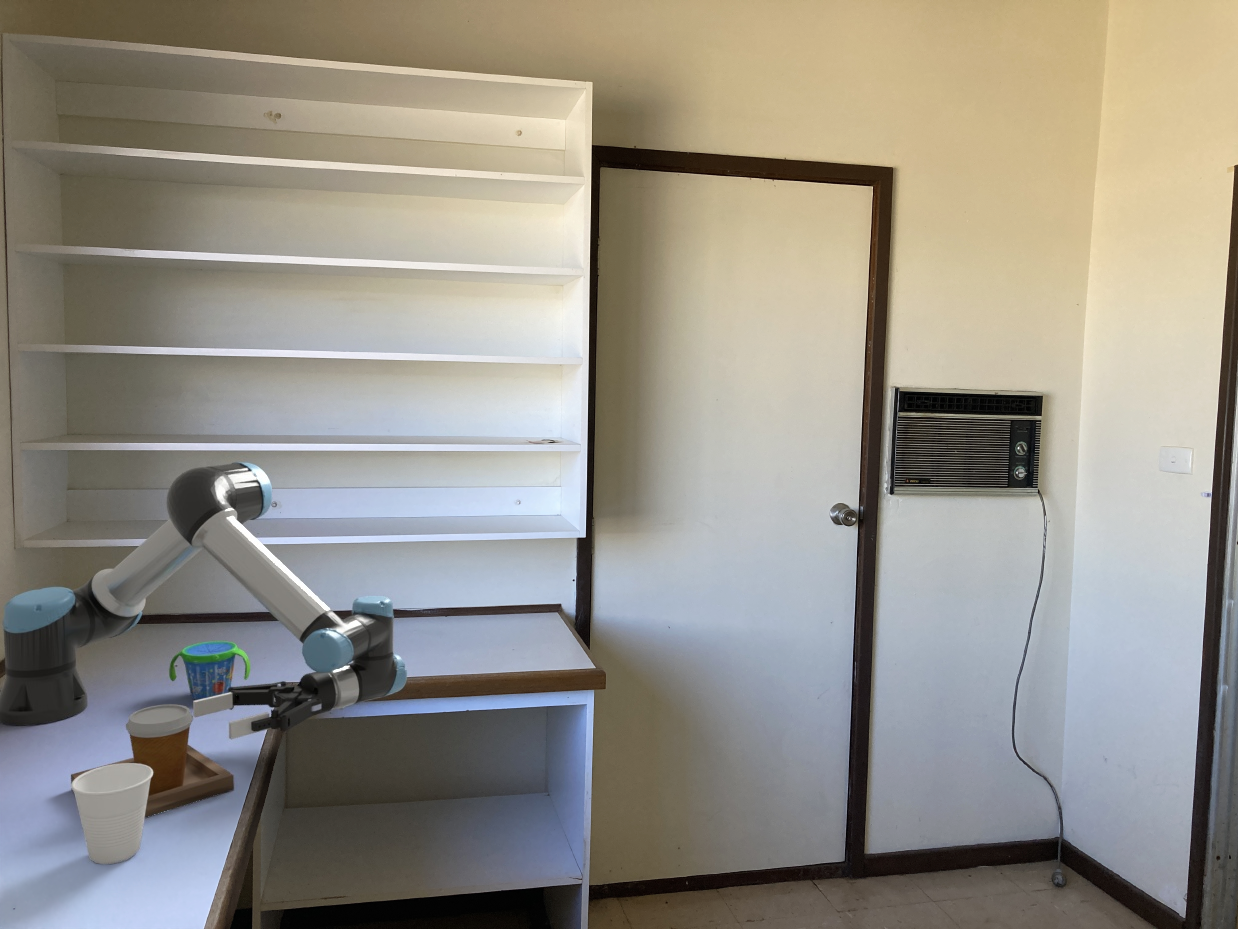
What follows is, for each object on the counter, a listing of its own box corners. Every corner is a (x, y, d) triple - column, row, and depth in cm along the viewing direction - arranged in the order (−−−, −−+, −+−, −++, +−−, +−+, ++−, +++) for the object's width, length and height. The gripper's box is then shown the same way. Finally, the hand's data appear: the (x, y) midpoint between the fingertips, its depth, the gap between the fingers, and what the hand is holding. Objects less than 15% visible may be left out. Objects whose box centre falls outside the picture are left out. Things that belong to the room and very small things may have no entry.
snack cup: (160, 703, 186) (159, 654, 185) (185, 686, 196) (184, 639, 195) (237, 705, 186) (236, 656, 185) (258, 688, 196) (257, 641, 195)
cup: (136, 829, 134) (134, 756, 133) (167, 852, 128) (166, 776, 127) (61, 855, 127) (59, 778, 126) (91, 881, 120) (88, 800, 120)
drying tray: (71, 789, 147) (70, 774, 146) (186, 757, 160) (186, 743, 160) (113, 828, 135) (112, 811, 134) (233, 789, 148) (233, 774, 148)
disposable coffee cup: (190, 796, 143) (188, 721, 142) (121, 804, 140) (119, 727, 139) (197, 771, 152) (196, 701, 151) (133, 778, 149) (131, 706, 148)
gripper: (364, 728, 161) (246, 763, 145) (293, 693, 178) (180, 721, 162) (364, 686, 160) (246, 717, 145) (293, 655, 177) (180, 680, 162)
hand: (211, 719), depth 153 cm, fingers open, 13 cm apart
